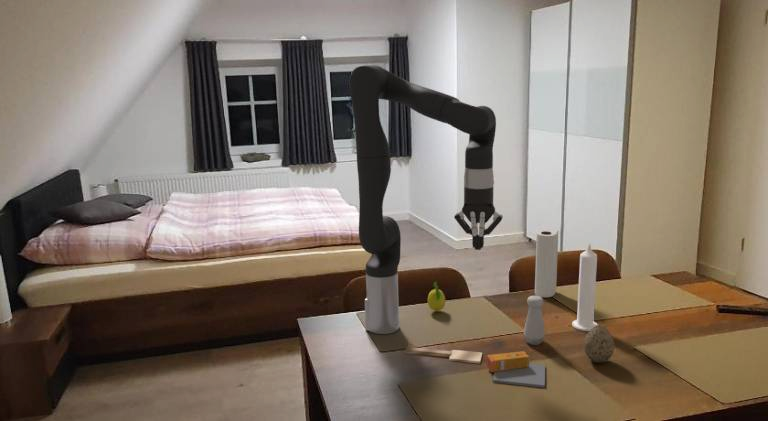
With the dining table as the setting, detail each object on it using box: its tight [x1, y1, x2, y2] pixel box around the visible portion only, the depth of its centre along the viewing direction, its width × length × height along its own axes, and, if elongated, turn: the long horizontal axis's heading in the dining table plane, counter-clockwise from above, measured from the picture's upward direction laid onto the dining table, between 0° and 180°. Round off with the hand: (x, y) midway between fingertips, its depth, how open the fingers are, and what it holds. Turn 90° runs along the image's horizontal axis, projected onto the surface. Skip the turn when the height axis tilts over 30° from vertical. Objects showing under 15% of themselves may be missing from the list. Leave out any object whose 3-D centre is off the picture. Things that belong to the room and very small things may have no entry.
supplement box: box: [486, 351, 530, 373], centre depth 144 cm, size 3×3×10 cm
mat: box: [492, 362, 546, 388], centre depth 142 cm, size 12×10×1 cm
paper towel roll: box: [534, 230, 559, 298], centre depth 190 cm, size 7×6×21 cm
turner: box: [405, 346, 483, 365], centre depth 153 cm, size 20×5×1 cm, turn 74°
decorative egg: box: [583, 324, 615, 364], centre depth 146 cm, size 7×7×10 cm
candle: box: [571, 243, 599, 332], centre depth 165 cm, size 7×7×25 cm
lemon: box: [427, 281, 446, 313], centre depth 180 cm, size 7×6×10 cm
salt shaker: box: [523, 295, 546, 346], centre depth 158 cm, size 6×6×13 cm
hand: (478, 249), depth 153 cm, fingers closed
